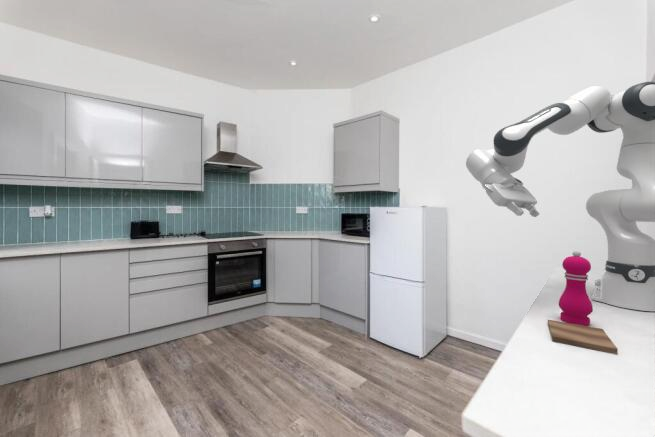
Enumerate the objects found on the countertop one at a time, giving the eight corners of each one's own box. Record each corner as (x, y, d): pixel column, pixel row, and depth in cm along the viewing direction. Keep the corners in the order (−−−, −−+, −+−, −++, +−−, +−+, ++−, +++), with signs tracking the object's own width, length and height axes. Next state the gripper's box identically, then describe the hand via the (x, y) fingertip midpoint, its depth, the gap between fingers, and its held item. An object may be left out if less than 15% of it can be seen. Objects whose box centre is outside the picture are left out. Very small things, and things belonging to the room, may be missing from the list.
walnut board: (547, 323, 78) (547, 319, 78) (602, 333, 72) (602, 328, 72) (552, 341, 67) (552, 336, 67) (617, 354, 61) (617, 349, 61)
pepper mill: (599, 328, 76) (601, 252, 75) (568, 325, 77) (570, 251, 77) (581, 318, 83) (583, 249, 82) (552, 316, 84) (554, 248, 84)
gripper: (489, 174, 91) (519, 206, 83) (523, 181, 101) (553, 209, 93) (474, 189, 95) (502, 220, 87) (509, 193, 105) (536, 222, 97)
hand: (529, 215), depth 90 cm, fingers open, 8 cm apart
